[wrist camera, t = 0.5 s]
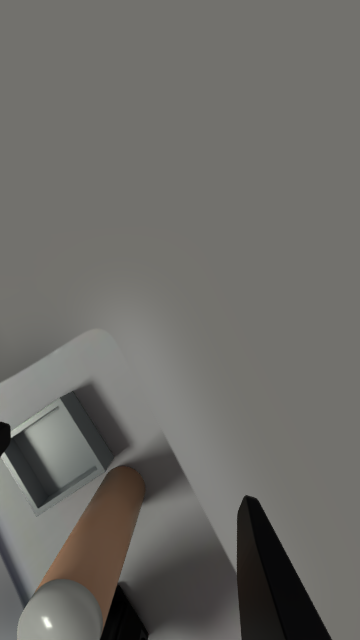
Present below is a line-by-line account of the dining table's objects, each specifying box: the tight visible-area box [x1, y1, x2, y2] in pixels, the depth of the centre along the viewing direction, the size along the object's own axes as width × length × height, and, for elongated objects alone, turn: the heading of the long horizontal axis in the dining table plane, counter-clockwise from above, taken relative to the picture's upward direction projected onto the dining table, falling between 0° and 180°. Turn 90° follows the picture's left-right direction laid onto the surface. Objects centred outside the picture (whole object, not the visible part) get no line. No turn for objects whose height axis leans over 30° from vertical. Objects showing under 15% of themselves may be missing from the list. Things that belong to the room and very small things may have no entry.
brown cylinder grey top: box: [17, 466, 145, 640], centre depth 20 cm, size 5×5×12 cm
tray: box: [1, 391, 114, 517], centre depth 25 cm, size 9×9×2 cm
